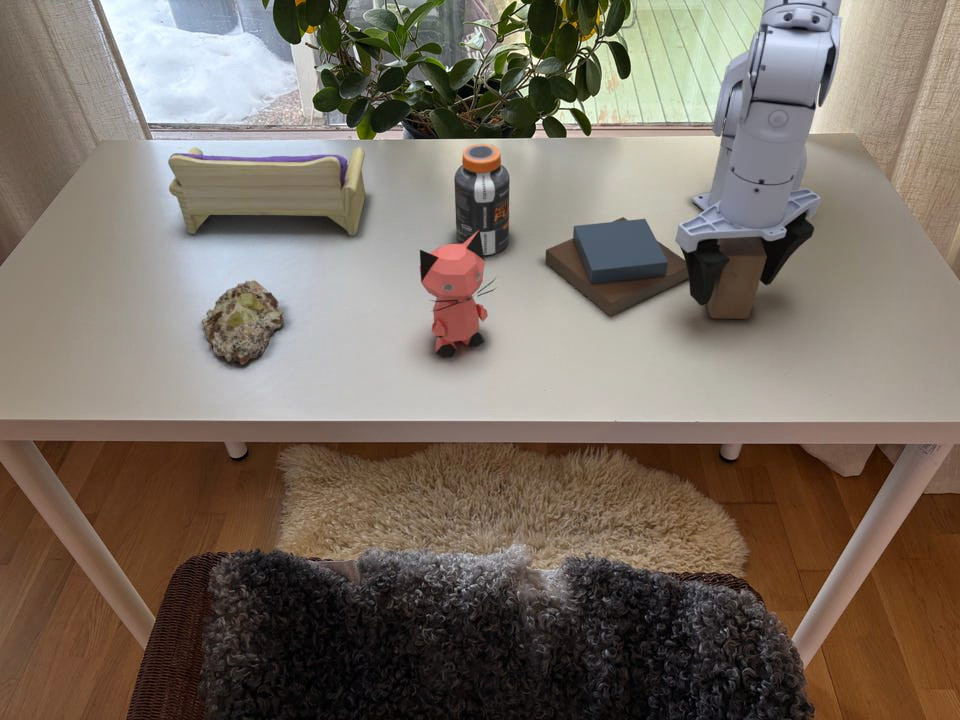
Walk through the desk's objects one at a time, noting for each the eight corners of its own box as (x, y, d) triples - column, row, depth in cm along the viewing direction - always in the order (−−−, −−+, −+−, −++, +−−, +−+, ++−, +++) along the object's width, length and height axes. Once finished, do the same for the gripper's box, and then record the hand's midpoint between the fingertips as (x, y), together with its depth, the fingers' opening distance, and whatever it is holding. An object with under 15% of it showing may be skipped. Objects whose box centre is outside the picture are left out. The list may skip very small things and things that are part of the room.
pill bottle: (503, 259, 86) (504, 169, 78) (451, 254, 87) (446, 164, 79) (513, 229, 90) (514, 140, 82) (463, 224, 91) (459, 135, 83)
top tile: (643, 232, 86) (645, 218, 85) (665, 276, 80) (668, 262, 79) (572, 239, 85) (573, 225, 84) (590, 284, 80) (592, 270, 78)
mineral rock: (198, 284, 80) (269, 260, 79) (220, 313, 83) (289, 290, 82) (185, 358, 72) (264, 333, 72) (210, 387, 76) (286, 363, 75)
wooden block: (709, 319, 78) (725, 255, 72) (702, 294, 81) (717, 230, 75) (749, 320, 78) (768, 256, 72) (741, 295, 81) (759, 231, 75)
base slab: (621, 229, 89) (623, 216, 88) (689, 278, 83) (692, 265, 82) (545, 262, 85) (545, 249, 84) (610, 316, 79) (611, 303, 77)
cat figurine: (439, 373, 73) (431, 272, 65) (408, 331, 78) (397, 231, 69) (504, 347, 76) (504, 247, 67) (470, 308, 80) (467, 209, 72)
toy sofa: (371, 196, 96) (361, 118, 88) (362, 237, 89) (349, 157, 82) (204, 196, 96) (180, 119, 89) (183, 237, 90) (155, 158, 83)
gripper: (721, 210, 63) (692, 333, 73) (860, 171, 67) (816, 292, 77) (672, 169, 68) (651, 290, 78) (805, 135, 72) (770, 254, 82)
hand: (730, 289), depth 78 cm, fingers open, 7 cm apart
